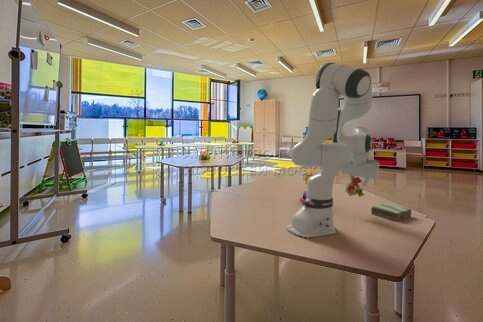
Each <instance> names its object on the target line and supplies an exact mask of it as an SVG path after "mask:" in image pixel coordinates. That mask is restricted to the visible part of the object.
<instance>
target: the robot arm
mask: <svg viewBox="0 0 483 322" xmlns="http://www.w3.org/2000/svg"><path fill="white" fill-rule="evenodd" d="M315 88H316V90H314V92H313V93H312V97H311V101H310V107H309V114H308V115H309V117H308V127H307V132H306V134H305V136H304V137H303V138H302V140H301V141H299V142H298V143H297V144H294V146H293V147H292V148H291V151H290V159H291V161H292V163H293V164H294V165H295V166H298V167H303V168H320V169H321V170H319V172H317V173H316V174H313V175H312V176H309V178H308V179H307V181H306V195H305V198H302V197H300V198H299V203H302V206H301V207H300V208H299V209H298V210H297V211H296V212H295V213H293V215H292V217H291V223H290V224H287V225H286V227H285V228H286V230H287V231H289V232H290V233H291V234H293V235H295V234H296V235H295V236H298V235H299V236H298V237H300V236H302V237H301V238H304V237H307V238H306V239H310V237H311V238H316V237H322V236H329V235H334V234H336V233H337V230H336V227H335V219H334V211H333V205H334V204H333V203H334V199H333V187H334V180H335V178H336V176H337V174H338V173H339V172H341V174H342V175H345V176H349V179H350V182H353V180H352V177H359V178H360V177H361V178H364V181H362V182H361V183H362V186H363V187H367V186H368V182H369V181H370V179H378V178H379V177H380V162H379V161H378V160H377V159H370V151H371V150H373V137H372V136H370V129H369V128H367V127H363V126H362V127H359V126H358V127H355V128H353V129H352V132H351V133H343V131H344V125H345V124H346V123H348V122H351V121H353V120H356V119H359V118H362V117H364V116H365V115H366V114H368V113H369V112H370V110H371V109H372V104H373V86H372V78H371V75H370V73H369V72H368V71H366V70H365V69H362V68H357V67H355V66H351V65H348V64H344V63H335V62H326V63H324V64H322V65H321V66H320V67H319V69H318V70H317V72H316V76H315ZM341 96H342V97H343V104H342V105H341V106H340V107H339V100H340V98H341ZM331 138H332V139H331ZM330 139H331V142H325V141H328V140H330Z"/></svg>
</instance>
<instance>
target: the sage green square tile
mask: <svg viewBox="0 0 483 322" xmlns="http://www.w3.org/2000/svg"><path fill="white" fill-rule="evenodd" d="M411 209H412V208H407V207H404V206H400V205H395V204H391V203H386V202H385V203H382V204H378V205H375V206H372V207H371V210H370V211H371V212H370V213H371V215H373V216H376V217H377V216H378V217H380V218H384V219H387V220H391V221H394V222H398V221H402V220H406V219H408V218H411V216H412V210H411Z"/></svg>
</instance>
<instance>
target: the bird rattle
mask: <svg viewBox="0 0 483 322" xmlns="http://www.w3.org/2000/svg"><path fill="white" fill-rule="evenodd" d="M352 180H353V182H351V181H350V182H349V183H347V184H346V186H345V191H346V193H347V194H348V196H349V197H351V196H355V195H357V196H358V197H359V198H361V197H363V196H365V194H364V192H363V188H361V187H360V183H362V182H363V180H362V179H361V178H360V177H359V176H354V177H352Z"/></svg>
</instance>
